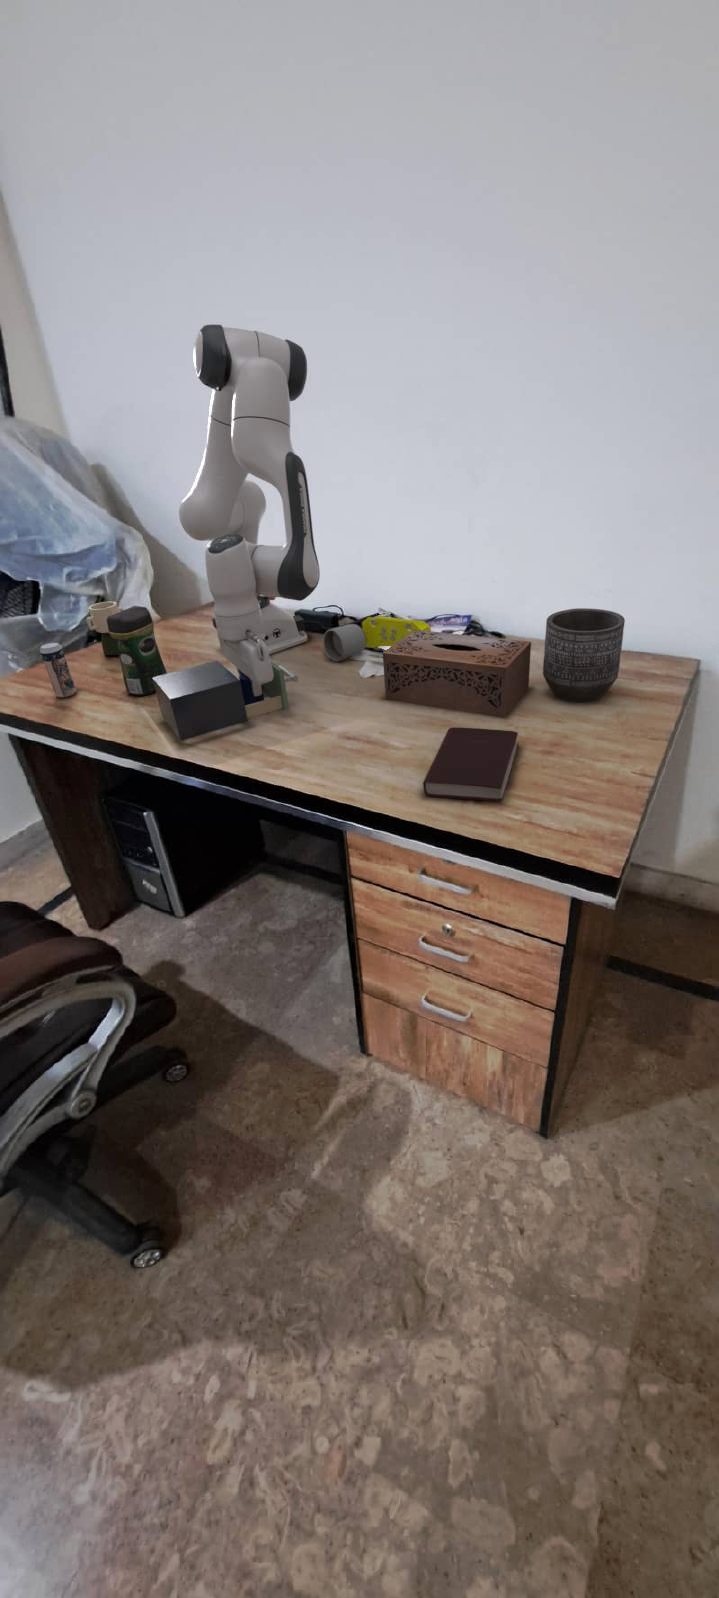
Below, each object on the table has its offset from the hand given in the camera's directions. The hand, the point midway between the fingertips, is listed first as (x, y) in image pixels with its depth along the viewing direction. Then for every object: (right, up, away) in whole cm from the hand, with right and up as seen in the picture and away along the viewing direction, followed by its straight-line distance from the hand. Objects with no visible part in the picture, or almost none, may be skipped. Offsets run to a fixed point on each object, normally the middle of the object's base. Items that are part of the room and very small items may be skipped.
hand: (252, 690), depth 139 cm
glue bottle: (0, -3, +2) cm, 3 cm away
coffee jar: (-27, +3, +18) cm, 33 cm away
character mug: (-43, +16, +41) cm, 62 cm away
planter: (+66, -1, -4) cm, 66 cm away
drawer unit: (-9, -7, -2) cm, 12 cm away
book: (+41, -18, -26) cm, 52 cm away
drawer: (0, -3, +2) cm, 4 cm away
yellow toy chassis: (+31, +14, +25) cm, 42 cm away
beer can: (-47, +2, +19) cm, 51 cm away
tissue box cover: (+42, -1, +1) cm, 42 cm away
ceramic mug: (+18, +12, +25) cm, 33 cm away
